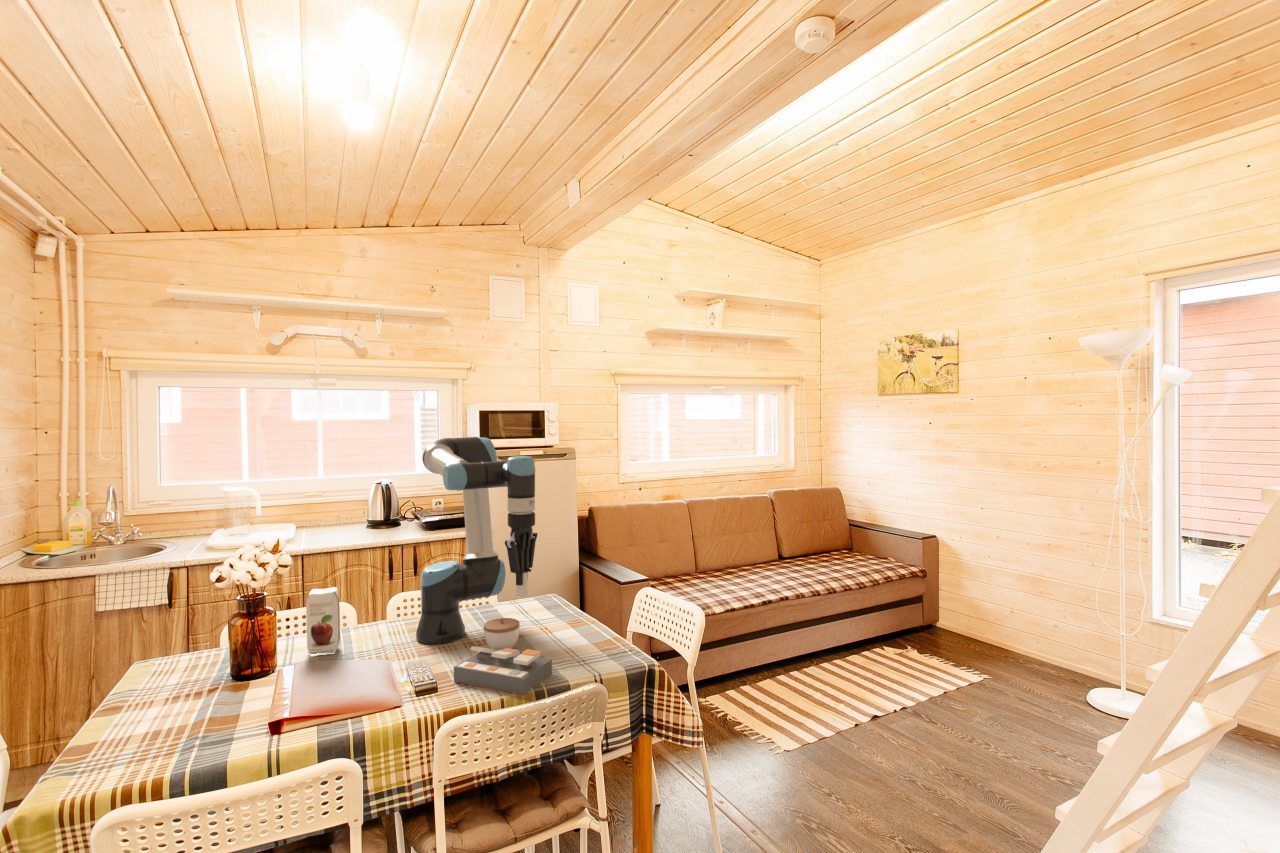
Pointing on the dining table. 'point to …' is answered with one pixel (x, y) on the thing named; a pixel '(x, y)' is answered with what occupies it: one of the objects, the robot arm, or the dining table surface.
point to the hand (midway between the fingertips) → (521, 595)
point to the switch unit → (502, 673)
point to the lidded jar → (501, 633)
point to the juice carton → (323, 620)
